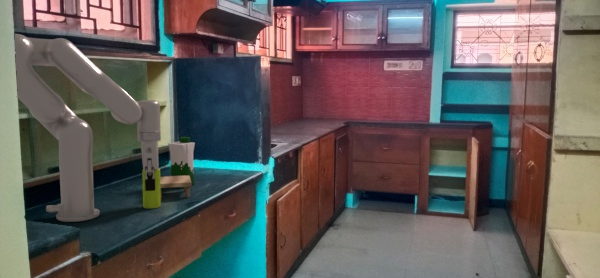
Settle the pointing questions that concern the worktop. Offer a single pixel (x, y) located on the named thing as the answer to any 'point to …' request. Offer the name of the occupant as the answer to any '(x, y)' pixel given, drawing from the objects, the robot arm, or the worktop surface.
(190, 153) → the milk carton
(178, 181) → the stool
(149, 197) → the soap dispenser
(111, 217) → the worktop surface
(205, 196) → the worktop surface
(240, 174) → the worktop surface
